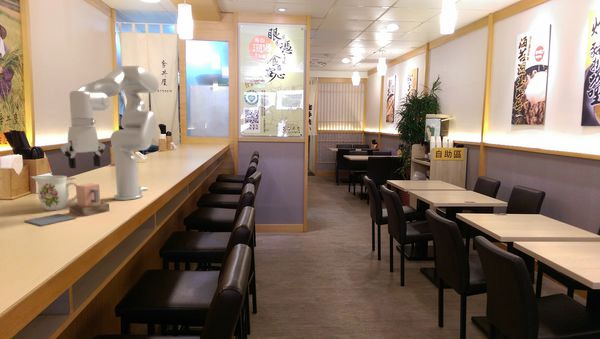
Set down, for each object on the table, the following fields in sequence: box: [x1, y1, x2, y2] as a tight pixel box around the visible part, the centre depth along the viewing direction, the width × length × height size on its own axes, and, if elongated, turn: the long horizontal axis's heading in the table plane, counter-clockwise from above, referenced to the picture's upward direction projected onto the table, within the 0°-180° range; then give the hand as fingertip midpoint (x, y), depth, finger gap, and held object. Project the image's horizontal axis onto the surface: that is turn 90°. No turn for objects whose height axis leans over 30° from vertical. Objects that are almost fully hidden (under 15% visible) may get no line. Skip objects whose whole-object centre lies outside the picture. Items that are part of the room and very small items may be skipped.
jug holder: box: [68, 201, 110, 217], centre depth 165 cm, size 10×10×3 cm
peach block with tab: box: [75, 182, 102, 208], centre depth 163 cm, size 6×9×11 cm, turn 58°
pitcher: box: [30, 174, 79, 211], centre depth 171 cm, size 11×18×14 cm, turn 102°
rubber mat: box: [24, 213, 77, 227], centre depth 152 cm, size 12×12×1 cm
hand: (85, 167), depth 162 cm, fingers open, 9 cm apart
